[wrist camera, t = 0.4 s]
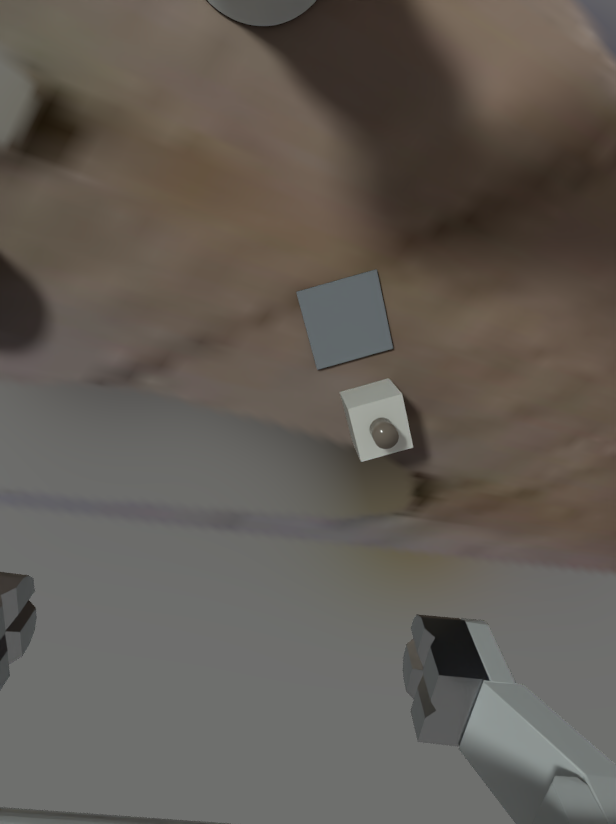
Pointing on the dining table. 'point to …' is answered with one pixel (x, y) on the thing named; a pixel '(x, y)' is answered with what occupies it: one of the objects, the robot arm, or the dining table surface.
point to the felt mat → (345, 319)
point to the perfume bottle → (376, 419)
